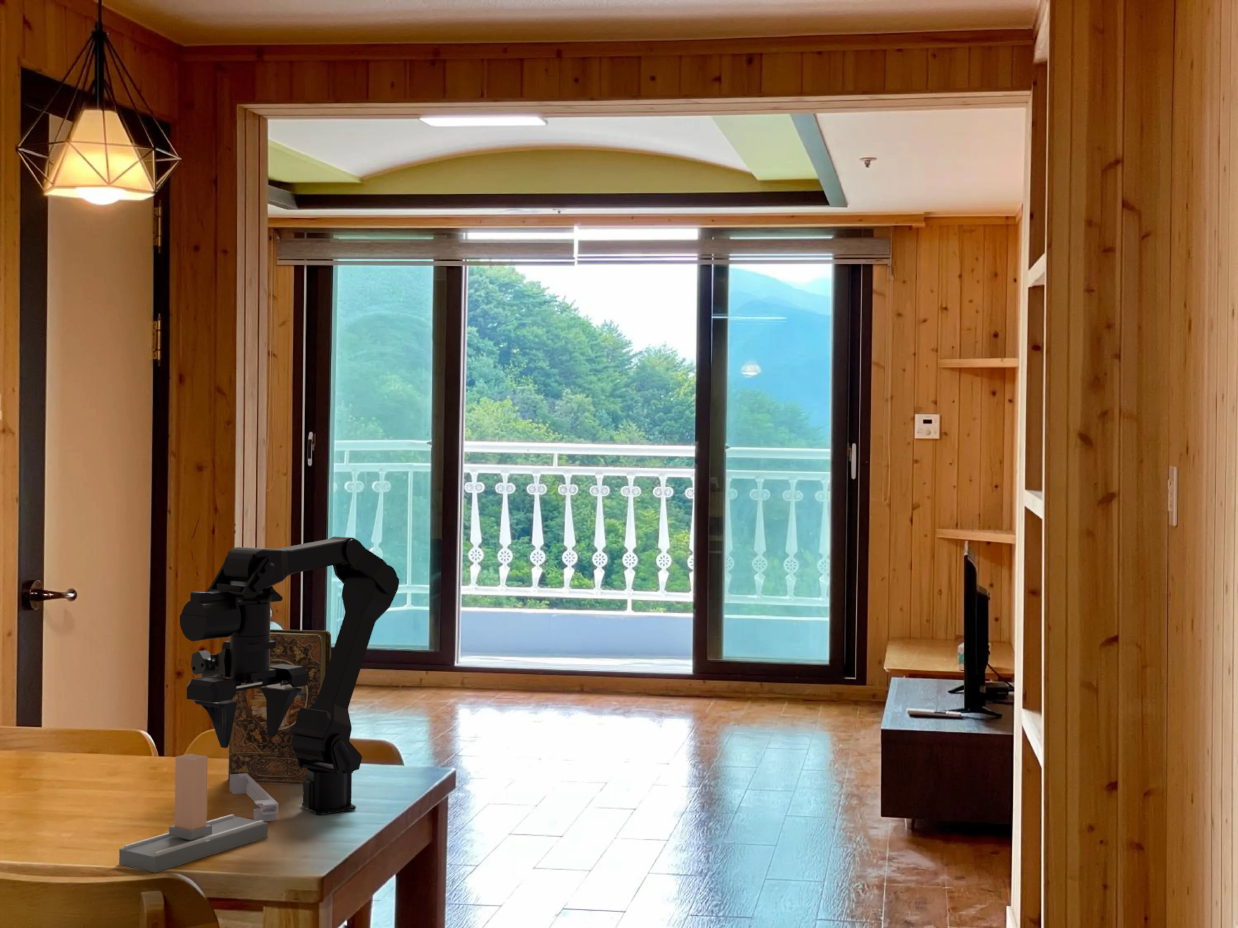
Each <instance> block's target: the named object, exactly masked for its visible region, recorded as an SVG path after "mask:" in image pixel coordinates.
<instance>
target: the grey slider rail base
mask: <svg viewBox="0 0 1238 928" xmlns="http://www.w3.org/2000/svg"><path fill="white" fill-rule="evenodd" d="M207 824H208V825H212V834H211V835H207V836H204V837H201V838H197V839H194V840H188V839H184V838H179V837H175V836H170V835H169V832H166V833H162V834H159V835H156V836H152V837H149V838H145V839H142V840H138V841H135V842H132V843H128V844H125V845H124V847H121V848H119V852H118V853H119V854H118V855H119V857H118V862H119V863H118V865H123V866H126V867H130V868H134V869H139V870H141V871H147V872H152V873H155V874H156V873H159V872H163V871H165V870H168V869H171V868H174V867H177V866H181V865H184V864H188V863H190V862H193V861H196V860H199V859H203V858H206V857H208V856H213V855H216V854H219V853H221V852H225V851H229V850H231V849H235V848H238V847H240V846H245V845H246V844H251V843H252V842H255V841H260V840H263V839H265V838H268V837H269V836H268V835H269V834H268V830H269V829H268V828H269V826H268V825H269V824H268V822H266V821H263V820H260V821H255V820H254V819H250V818H245V817H239V816H235V814H233V813H232V814H228V815H225V816H221V817H218V818H213V819H211V820H207Z"/></svg>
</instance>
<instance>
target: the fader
mask: <svg viewBox="0 0 1238 928" xmlns="http://www.w3.org/2000/svg"><path fill="white" fill-rule="evenodd" d="M208 760H209V759H208V756H206V755H200V754H195V753H187V754H181V755H177V756H175V764H174V765H175V767H174V768H175V769H174V771H175V772H174V773H175V774H174V775H175V777H174V779H175V781H174V825H169V827H168V833H169V835H170V836H175V837H179V838H184V839H188V840H194V839H197V838H201V837H204V836H207V835H211V834H212V825H208V824H207V821H208V819H207V818H208V767H209V766H208V763H209V762H208Z"/></svg>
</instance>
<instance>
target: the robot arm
mask: <svg viewBox="0 0 1238 928" xmlns="http://www.w3.org/2000/svg"><path fill="white" fill-rule="evenodd" d="M331 566H332V567H333V572H334V576H336V577H337V579H338V580H340V581H341V583H342V584H343V587H342V590H341V599H342V604H343V608H344V616H343V619H342V623H341V625H340V628H339V631H338V635H337V638H336V641H335V643H334V647H333V649H332V651H331V658H330V662H329V665H328V668H327V671H326V674H325V677H324V680H323V683H322V686H321V689H320V692H319V695H318V698H317V700H316V702H315V703H314V704H313V705H312V706H311V707H310V708H303V707H301V708H300V710H299V711H298V714H297V719H296V723H295V725H294V727H293V729H292V730H291V733H293V736H292V743H291V745H292V747H293V749H294V752H295V754H296V757H297V760H298V764H299V767H301V768H308V769H306V779H304V780H303V785H302V803H301V807H302V808H304V809H306V810H308V811H309V812H311V813H313V814H314V815H317V816H318V815H319V816H320V815H326V814H333V813H339V812H345V811H346V812H347V811H354V810H356V809H357V806H356V805H354V804H353V803H352V793H353V792H352V789H353V788H352V787H353V786H352V785H353V782H352V780H353V778H352V777H353V773H354V771H359V770H360V767H361V763H362V759H363V755H362V754H361V752H359V751H358V749H357V748H356V747H355V746H354V744H353V743H352V742H351V741H350V738H351V734H352V723H351V718H350V713H349V707H350V703H351V700H352V696H353V693H354V690H355V687H356V685H357V681H358V678H359V675H360V672H361V669H362V666H363V662H364V658H365V656H366V653H367V649H368V647H369V643H370V640H371V637H372V634H373V630H374V627H375V625H376V622H377V621H378V620H379V618H381V617H382V616H383V615H384V614H385V613H386V612H387V611H388V610H389V609H390V607H391V605H392V603H393V602H394V601H393V600H394V599H395V596H396V595H397V593H398V590H399V585H400V579H399V577H398V573H397V572H396V570H395V568H394V567H393V566H392V565H389V564H388V563H387V562H386V561H385V560H384V559H382V558H381V557H380V556H378V555H376V554H375V553H374V552H372V551H371V550H369V549H368V548H366V547H365V546H364V544H362V543H361V541H359V540H358V539H357V538H354V537H352V536H351V537H348V536H347V537H346V536H332V537H331V538H327V539H323V540H316V541H313V542H311V541H310V542H305V543H301V544H297V545H296V544H295V545H290V546H285V547H280V548H279V547H278V548H264V547H248V546H247V547H245V546H242V547H240V546H237V547H234V548H231V549H230V550H229V551H228V552H227V555H226V557H225V558H224V562H223V563H222V566H221V567H220V569H219V570H218V573H217V574H216V576H215V577H214V579H213V581H212V582H211V584H210V586H209V587H208V589H207V591H205V592H204V591H191V592H190V596H189V599H190V600H189V601H188V602H186V603H185V605H183V608H182V610H181V614H180V615H179V626H180V630H181V632H182V635H184V638H186V639H187V640H189V641H190V642H200V641H208V640H216V639H223V638H224V639H225V638H229V639H228V640H224V641H222V644H221V651H220V652H218V653H212V654H211V653H210V651H209V650H199V651H196V652H193V653H192V654H191V662H190V667H191V671H192V674H193V675H194V676H198V675H199V676H201V677H196V678H191V680H189V682H188V683H187V684H186V700H192V701H193V703H194V704H195V705H200V706H201V707H202V708H203V709H204V710H205V711H206V713H207V714H208V717H209V719H210V720H211V723H212V727H213V728H214V732H215V735H216V738H217V741H218V743H219V746H220V747H221V748H222V749H227V748H228V749H229V742H230V738H231V733H232V728H233V722H234V717H235V712H236V707H237V701H231V700H232V699H233V698H234V696H235V695H236V691H241V690H246V689H252V688H257V687H260V689H261V691H262V693H263V694H264V696H265V698H266V714H267V733H268V736H269V737H275V735H276V733H277V731H278V729H279V727H280V725H281V723H282V721H283V719H284V717H285V715H286V713H287V711H288V709H289V707H290V706H291V704H292V702H293V701H294V699H295V697H296V695H297V694H298V693H299V692H301V691H302V689H301V688H296V687H301V686H306V685H308V673H307V671H306V670H305V668H304V667H303V666H295V665H287V664H278V665H272V666H270V649H273V648H276V641H270V629H271V612H272V611H271V608H272V607H271V603H275V602H282V601H283V600H284V599H283V596H282V595H281V593H279V592H277V590H276V589H275V588H274V586H275V585H277V584H280V583H282V582H283V581H284V580H286V578H287V577H288V576H291V575H293V574H298V573H302V572H307V571H312V570H318V569H321V568H325V567H331ZM253 681H255V682H253ZM241 683H245V684H241ZM263 686H264V687H263Z"/></svg>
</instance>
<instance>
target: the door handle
mask: <svg viewBox="0 0 1238 928" xmlns="http://www.w3.org/2000/svg"><path fill="white" fill-rule="evenodd" d="M229 792H230V793H231V794H232V795H240V794H246V795H248V797H249V798H251V800H252V801H253V803H254V804H255V805H256V806H258V807H259V808H253V820H255V821H260V820H263V822H268V821H269V822H270V821H271V822H272V821H277V815H278V814H279V802H278V801H276V800H275V799H274V798H273V796H271V794H269V793H268V792H267V791H266V790H265V789H264V788H263V787H262V786H261V785H260V783H256V782H255V781H254V780H253V779H252V778H251V777H250V776H249V775H248V774H247V773H243V774H232V775H230V782H229Z"/></svg>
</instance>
